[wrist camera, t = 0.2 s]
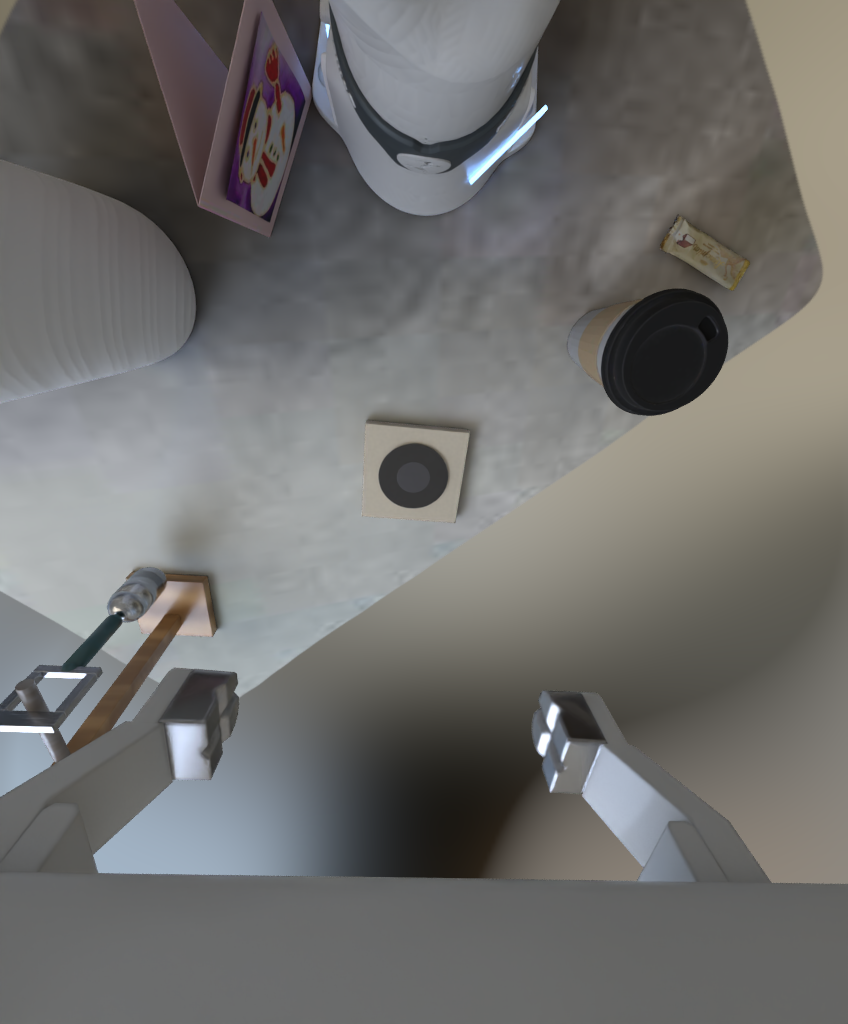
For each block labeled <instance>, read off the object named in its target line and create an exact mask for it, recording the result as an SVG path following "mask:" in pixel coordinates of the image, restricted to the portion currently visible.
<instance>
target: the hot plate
mask: <svg viewBox="0 0 848 1024" xmlns="http://www.w3.org/2000/svg"><path fill="white" fill-rule="evenodd" d="M469 436H470V432H469V430H466V429H455V428H445V427H434V426H423V425H412V424H402V423H391V422H380V421H369V420H366V423H365V447H364V472H363V498H362V516H364V517H378V518H392V519H406V520H420V521H433V522H447V523H455V522H456V516H457V509H458V503H459V497H460V491H461V485H462V479H463V473H464V466H465V460H466V454H467V448H468V442H469Z"/></svg>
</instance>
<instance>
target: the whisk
mask: <svg viewBox="0 0 848 1024" xmlns="http://www.w3.org/2000/svg"><path fill="white" fill-rule="evenodd" d="M166 585H167V578H166V576H165V574H164V573H163V572H162V571H161V570H159V569H157V568H153V567H146V568H142V569H140V570H138V571H136V572H135V573H134V574H133V575H132V576H131V577H130V578H129V579H128V580H127V581H126V582H125V583H124V584H123V585H122V586H121V587H120V588H119V589H118V590H117V591H116V592H115V593H114V594H113V595H112V596H111V598H110V599H109V602H108V605H107V609H108V613H109V615H110V616H108V617H107V618H106V619H105V620H104V621H103V622H102V623H101V624H100V626H99V627H98V628H97V629H96V630H95V631H94V632H93V633H92V634H91V635H90V636H89V637H88V638H87V640H86V641H85V642H84V643H83V644H82V645H81V646H80V647H79V648H78V649H77V650H76V651H75V653H74V654H73V655H72V656H71V657H70V658H69V659H68V660H67V661H66V662H65V663H64V664H63V666H53V665H39V666H38V667H37V668H36V669H35V670H34V671H33V672H32V673H31V674H30V675H29V676H28V677H27V678H26V679H33V680H34V681H35V683H36V685H37V684H38V683H39V682H40V681H41V680H42V679H43V677H54V678H82V680H81V681H80V682H79V684H78V685H77V686H76V687H75V688H74V689H73V691H72V692H71V693H70V694H69V695H68V697H67V698H66V699H65V700H64V701H63V702H62V704H61V705H60V706H59V707H58V708H57V710H56V711H55V712H42V711H12V710H13V709H14V708H15V707H16V706H17V705H18V704H19V703H20V702H21V699H20V697H19V696H18V694H17V692H16V690H14V691H13V692H12V693H11V694H10V695H9V696H8V697H7V698H6V699H5V700H4V701H3V702H2V703H1V704H0V731H2V732H41V733H55V732H56V731H57V729H58V728H59V727H60V726H61V724H62V723H63V722H64V721H65V719H66V718H67V717H68V715H69V714H70V713H71V712H72V711H73V709H74V708H75V707H76V706H77V705H78V703H79V702H80V701H81V699H82V698H83V697H84V696H85V695H86V693H87V692H88V691H89V690H90V688H91V687H92V686H93V685H94V683H95V682H96V681H97V679H98V678H99V677H100V676H101V674H102V673H103V672H102V669H101V667H85V666H86V665H87V664H88V663H89V661H90V660H91V659H92V658H93V657H94V656H95V655H96V653H97V652H98V651H99V650H100V649H101V648H102V646H103V645H104V644H105V643H106V642H107V641H108V640H109V638H110V637H111V636H112V635H113V634H114V633H115V631H116V630H117V629H118V628H119V627H120V626H121V624H122V622H132V621H135V620H138V619H139V618H141V617H142V616H143V615H144V614H145V613H146V612H147V611H148V610H149V608H150V607H151V606H152V605H153V604H154V602H155V601H156V600H157V599H158V598H159V596H160V595H161V594H162V593H163V591H164V590H165V588H166Z"/></svg>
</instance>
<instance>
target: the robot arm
mask: <svg viewBox="0 0 848 1024" xmlns="http://www.w3.org/2000/svg"><path fill="white" fill-rule="evenodd" d="M559 2H560V0H320V20H321V23H320V30H319V38H318V45H317V53H316V61H315V68H314V76H313V83H312V96H313V100H314V104H315V106H316V109H317V110H318V112H319V113H320V115H321V116H322V117H323V118H324V119H325V121H326V122H327V123H328V124H329V125H330V126H331V127H332V128H333V129H334V130H335V131H336V132H337V133H338V134H339V135H340V136H341V138H342V139H343V141H344V143H345V144H346V146H347V148H348V151H349V153H350V155H351V157H352V159H353V161H354V164H355V165H356V167H357V169H358V171H359V173H360V174H361V176H362V177H363V179H364V180H365V182H366V183H367V184H368V185H369V187H370V188H371V189H372V190H373V191H374V192H375V193H376V194H377V195H378V196H379V197H380V198H381V199H383V200H384V201H385V202H387V203H388V204H390V205H391V206H393V207H395V208H397V209H399V210H401V211H403V212H406V213H410V214H414V215H421V216H431V215H439V214H443V213H446V212H449V211H452V210H454V209H456V208H458V207H460V206H461V205H463V204H464V203H466V202H467V201H468V200H470V199H471V198H472V197H473V196H474V195H475V194H476V193H477V192H478V191H479V190H480V189H481V188H482V187H483V186H484V184H485V183H486V182H487V180H488V179H489V177H490V176H491V175H492V173H493V172H494V170H495V169H496V168H497V166H498V165H499V164H500V163H501V162H502V161H503V160H504V159H506V158H508V157H509V156H511V155H512V154H514V153H516V152H517V151H519V150H520V149H521V148H523V147H524V146H525V145H526V144H527V143H528V142H529V140H530V139H531V137H532V135H533V132H534V130H535V125H536V121H537V120H538V119H539V118H540V117H541V116H542V115H543V114H544V113H545V112H546V110H547V109H548V108H547V106H546V105H545V106H544V107H543V108H542V109H541V110H540V111H539V112H538V113H537V114H536V102H537V70H538V44H539V41H540V39H541V37H542V35H543V33H544V31H545V29H546V28H547V26H548V24H549V22H550V20H551V18H552V16H553V14H554V12H555V10H556V8H557V6H558V4H559ZM237 684H238V680H237V673H235V672H226V671H215V670H203V669H186V668H173V669H172V670H170V671H169V672H168V673H167V674H166V676H165V677H164V678H163V680H162V681H161V682H160V684H159V685H158V687H157V688H156V689H155V691H154V692H153V693H152V695H151V696H150V698H149V699H148V700H147V702H146V703H145V705H144V706H143V707H142V709H141V710H140V711H139V713H138V714H137V715H136V717H135V718H134V719H133V721H132V722H127V721H126V722H124V723H122V724H120V725H119V726H117V727H116V728H114V729H112V730H110V731H109V732H107V733H105V734H104V735H102V736H100V737H99V738H97V739H96V740H94V741H92V742H91V743H89V744H87V745H86V746H84V747H82V748H81V749H79V750H77V751H76V752H74V753H72V754H71V755H69V756H67V757H66V758H64V759H62V760H61V761H59V762H57V763H56V764H54V765H53V766H51V767H49V768H48V769H46V770H44V771H43V772H41V773H39V774H38V775H36V776H34V777H33V778H31V779H29V780H28V781H26V782H24V783H23V784H22V785H20V786H18V787H16V788H15V789H13V790H11V791H10V792H8V793H6V794H5V795H3V796H2V797H0V1024H848V884H811V883H806V884H805V883H771V881H770V880H769V878H768V877H767V875H766V874H765V873H764V871H763V870H762V868H761V867H760V865H759V864H758V862H757V861H756V859H755V858H754V856H753V855H752V854H751V852H750V851H749V850H748V848H747V846H746V845H745V843H744V842H743V840H742V839H741V838H740V836H739V835H738V833H737V832H736V830H735V829H734V827H733V826H732V825H731V823H730V822H729V821H728V820H727V819H726V818H725V817H723V816H722V815H721V814H720V813H718V812H717V811H716V810H714V809H713V808H712V807H711V806H709V805H708V804H707V803H706V802H704V801H703V800H702V799H701V798H699V797H698V796H697V795H696V794H694V793H693V792H692V791H690V790H689V789H688V788H687V787H685V786H684V785H683V784H682V783H681V782H679V781H678V780H677V779H675V778H674V777H673V776H672V775H670V774H669V773H668V772H667V771H665V770H664V769H663V768H662V767H660V766H659V765H658V764H657V763H655V762H654V761H653V760H652V759H650V758H649V757H648V756H646V755H645V754H644V753H643V752H641V751H640V750H639V749H638V748H636V747H635V746H634V745H628V743H627V742H626V740H625V738H624V736H623V735H622V733H621V732H620V729H619V728H618V726H617V724H616V723H615V721H614V719H613V717H612V716H611V714H610V712H609V710H608V709H607V707H606V705H605V703H604V702H603V700H602V698H601V697H600V696H599V695H598V694H597V693H594V692H572V691H552V690H543V691H542V692H541V693H540V696H539V700H538V701H539V704H540V707H541V708H540V709H538V710H537V711H536V712H535V713H534V716H533V720H532V736H533V742H534V745H535V748H536V751H537V752H538V753H539V754H540V755H541V756H542V757H543V758H544V761H543V764H542V769H543V772H544V775H545V778H546V781H547V784H548V787H549V790H550V792H558V793H573V794H583V795H582V796H583V798H584V799H585V800H586V801H587V802H588V803H589V805H590V806H591V807H592V808H593V809H594V811H595V812H596V813H597V814H598V815H599V816H600V817H601V819H602V820H603V821H604V822H605V823H606V825H607V826H608V827H609V828H610V829H611V830H612V832H613V833H614V834H615V835H616V836H617V837H618V839H619V840H620V841H621V842H622V843H623V845H624V846H625V847H626V848H627V849H628V850H629V852H630V853H631V854H632V855H633V856H634V857H635V858H636V860H637V861H638V862H639V863H640V864H641V865H642V867H643V870H642V872H641V874H640V876H639V878H638V879H637V881H603V880H599V881H598V880H534V879H531V880H529V879H460V878H459V879H457V878H454V879H453V878H391V877H390V878H389V877H318V876H317V877H315V876H313V877H312V876H250V875H249V876H248V875H182V874H181V875H179V874H113V873H111V874H110V873H98V870H97V867H96V864H95V860H94V857H93V854H95V852H97V851H98V850H99V849H100V848H101V847H102V846H103V845H104V844H105V843H106V842H108V841H109V840H110V839H111V838H112V837H113V836H114V835H115V834H116V833H117V832H119V831H120V830H121V829H122V828H123V827H124V826H125V825H126V824H127V823H128V822H130V820H132V819H133V818H134V817H135V816H136V815H137V814H138V813H139V812H140V811H141V810H143V809H144V808H145V807H146V806H147V805H148V804H149V803H150V802H151V801H152V800H154V799H155V798H156V797H157V796H158V795H159V794H160V793H161V792H162V791H163V790H164V789H166V788H167V787H168V786H169V785H170V784H171V783H172V780H211V778H212V776H213V774H214V772H215V770H216V767H217V765H218V763H219V761H220V758H221V756H222V753H223V751H222V743H223V742H224V741H225V740H227V739H228V738H229V737H230V736H231V734H232V731H233V729H234V726H235V723H236V719H237V715H238V709H239V697H238V696H237V695H236V693H235V692H234V691H235V689H236V686H237Z"/></svg>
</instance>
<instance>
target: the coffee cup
mask: <svg viewBox="0 0 848 1024" xmlns="http://www.w3.org/2000/svg"><path fill="white" fill-rule="evenodd" d="M567 348H568V352H569V355H570V357H571V358H572V360H573V361H574V362H575V363H576V364H577V365H578V366H580V367H581V368H582V369H583V370H584V371H585V372H586V373H587V374H588V375H589V376H590V377H591V378H593V379H594V380H595V381H596V382H598V383H599V384H600V385H602V386H603V387H604V389H605V391H606V393H607V395H608V397H609V398H610V399H611V401H612V402H613V403H614V404H615V405H616V406H618V407H619V408H621V409H622V410H624V411H626V412H629V413H632V414H637V415H646V416H654V415H660V414H665V413H668V412H671V411H673V410H676V409H678V408H680V407H682V406H684V405H686V404H688V403H690V402H691V401H693V400H694V399H696V398H697V397H698V396H700V395H701V394H702V393H703V392H704V391H705V390H706V389H707V388H708V387H709V386H710V385H711V383H712V382H713V381H714V380H715V378H716V377H717V375H718V373H719V372H720V370H721V368H722V366H723V363H724V361H725V358H726V354H727V349H728V332H727V328H726V325H725V322H724V319H723V317H722V314H721V312H720V310H719V309H718V307H717V306H716V305H715V304H714V303H713V302H712V301H711V300H710V299H709V298H707V297H706V296H704V295H702V294H699V293H696V292H694V291H691V290H687V289H668V290H663V291H660V292H657V293H654V294H652V295H650V296H648V297H646V298H644V299H639V300H634V301H629V302H624V303H619V304H615V305H612V306H610V307H608V308H603V309H598V310H594V311H591V312H589V313H587V314H586V315H584V316H583V317H582V318H581V319H579V320H578V321H577V323H576V324H575V325H574V327H573V328H572V330H571V332H570V334H569V337H568V342H567Z"/></svg>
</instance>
